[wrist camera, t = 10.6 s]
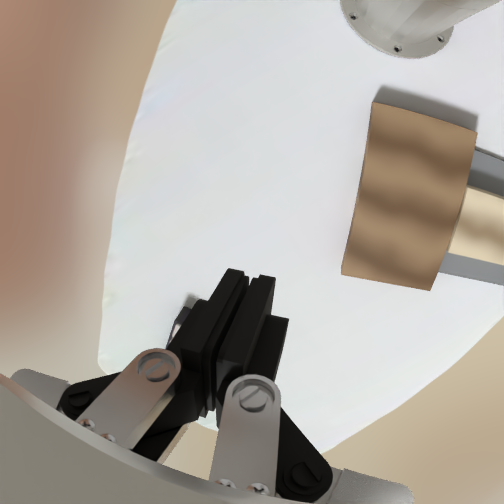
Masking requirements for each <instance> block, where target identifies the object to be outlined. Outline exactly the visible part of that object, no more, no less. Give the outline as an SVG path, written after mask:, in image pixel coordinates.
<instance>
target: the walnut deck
mask: <svg viewBox="0 0 504 504" xmlns="http://www.w3.org/2000/svg"><path fill="white" fill-rule="evenodd" d="M476 138H477V132H474V131H471V130H469V129H466V128H463V127H460V126H458V125H455V124H452V123H449V122H446V121H443V120H440V119H436V118H433V117H430V116H426V115H423V114H420V113H416V112H412V111H409V110H405V109H401V108H397V107H393V106H389V105H385V104H380V103H376V102H372V106H371V114H370V121H369V128H368V135H367V142H366V148H365V154H364V160H363V166H362V172H361V177H360V183H359V188H358V193H357V198H356V203H355V208H354V213H353V218H352V222H351V227H350V231H349V236H348V240H347V244H346V249H345V253H344V257H343V261H342V265H341V275H346V276H351V277H356V278H362V279H367V280H373V281H378V282H383V283H389V284H394V285H400V286H405V287H411V288H416V289H422V290H427V291H430V290H431V288H432V285H433V283H434V281H435V278H436V276H437V273H438V271H439V268H440V266H441V263H442V260H443V258H444V255H445V252H446V249H447V247H448V244H449V241H450V238H451V235H452V232H453V229H454V226H455V223H456V220H457V216H458V213H459V210H460V206H461V203H462V199H463V196H464V192H465V188H466V184H467V180H468V176H469V172H470V168H471V163H472V159H473V154H474V149H475V144H476Z"/></svg>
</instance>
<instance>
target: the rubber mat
mask: <svg viewBox="0 0 504 504" xmlns="http://www.w3.org/2000/svg"><path fill="white" fill-rule="evenodd" d="M467 185H470V186H473V187H477V188H480V189H483V190H486V191H489V192H492V193H495V194H497V195H500V196H503V197H504V161H502V160H500V159H497V158H495V157H492V156H490V155H487V154H485V153H482V152H479V151H477V150H474V154H473V159H472V163H471V168H470V172H469V176H468V180H467ZM438 272H440V273H445V274H450V275H455V276H460V277H465V278H469V279H474V280H479V281H484V282H488V283H493V284H498V285H503V286H504V265H500V264H496V263H491V262H487V261H483V260H479V259H474V258H470V257H466V256H461V255H457V254H452V253H448V251H447V250H446V252H445V255H444V258H443V260H442V263H441V266H440V268H439V271H438Z"/></svg>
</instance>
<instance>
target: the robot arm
mask: <svg viewBox="0 0 504 504" xmlns="http://www.w3.org/2000/svg"><path fill="white" fill-rule="evenodd" d="M500 1H501V0H340V4H341V9H342V12H343V14H344V16H345V19H346V20H347V22H348V23H349V25H350V27H351V28H352V29H353V30H354V31H355V32H356V34H357V35H358V36H359V37H361V38H362V39H363V40H364V41H365V42H366V43H368V44H369V45H371V46H372V47H374V48H376V49H377V50H379V51H382V52H384V53H386V54H388V55H392V56H395V57H399V58H407V59H416V58H423V57H427V56H430V55H432V54H435V53H436V52H438V51H439V50H441V49H442V48H443V47H444V46H445V45H446V44H447V43H448V41H449V39H450V37H451V35H452V32H453V27H454V25H455V24H457V23H459V22H461V21H463V20H464V19H466V18H468V17H470V16H472V15H474V14H476V13H478V12H480V11H482V10H484V9H486V8H488V7H490V6H492V5H494V4H496V3H498V2H500ZM352 16H353V17H355V18H356V19H355V20H353V19H351V17H352ZM438 38H439V39H440V41H439V40H438ZM394 48H397V49H398V52H396V51H395V50H394ZM275 281H276V278H275V277H270V276H265V275H259V277H258V278H254V277H253V279H252V281H251V283H250V285H249V276H244V271H240V270H235V269H230V268H228V269H227V271H226V272H225V274H224V276H223V277H222V279H221V281H220V282H219V284H218V286H217V287H216V289H215V291H214V292H213V294H212V295H211V297H210V299H209V300H208V301H206V300H202V299H199V300H198V301H197V302H196V303H195V305H194V306H193V308H192V309H191V311H190V313H189V314H188V316H187V317H186V319H185V320H184V322H183V323H182V325H181V326H180V328H179V330H178V331H177V333H176V334H175V336H174V337H173V339H172V340H171V342H170V344H169V345H168V347H167V348H166V350H165V349H160V348H154V349H148V350H146V351H143V352H141V353H140V354H139V355H138V356H136V357H135V358H134V359H133V361H132V362H131V363H130V364H129V365H128V366H127V367H126V368H125V369H124V370H123V371H122V372H118V373H115V374H111V375H107V376H103V377H99V378H95V379H91V380H87V381H82V382H79V383H75V384H73V385H70V384H69V382H68V381H65V380H62V379H58V378H55V377H51V376H49V375H45V374H42V373H39V372H36V371H33V370H30V369H21V370H18V371H17V372H15V373H14V374H13V375H12V377H11V378H8V377H6V376H4V375H2V374H0V504H414V497H413V494H412V491H411V490H410V489H409V488H408V487H407V486H405V485H402V484H400V483H396V482H391V481H387V480H383V479H379V478H375V477H372V476H368V475H364V474H361V473H357V472H354V471H351V470H348V469H345V468H344V469H343V470H340V469H336V468H333V467H330V466H329V464H328V462H327V461H326V460H325V459H324V458H323V457H322V455H321V454H320V453H319V452H318V451H317V450H316V449H315V447H314V446H313V445H312V444H311V443H310V442H309V440H308V439H307V438H306V437H305V436H304V434H303V433H302V432H301V431H300V430H299V428H298V427H297V426H296V425H295V424H294V422H293V421H292V420H291V419H290V418H289V416H288V415H287V414H286V413H285V411H284V410H283V409H282V408H281V394H280V390H279V388H278V387H277V385H276V384H275V383H274V381H275V378H276V374H277V370H278V366H279V362H280V358H281V354H282V350H283V346H284V342H285V337H286V332H287V327H288V322H289V319H288V318H283V317H278V316H273V315H271V310H272V303H273V296H274V288H275ZM215 408H216V420H217V427H218V429H219V431H218V436H217V441H216V446H215V451H214V456H213V462H212V467H211V471H210V476H209V481H207V480H204V479H201V478H197V477H195V476H192V475H189V474H186V473H183V472H180V471H178V470H175V469H172V468H170V467H167V466H164V465H162V464H163V463H164V461H165V460H166V459H167V457H168V456H169V454H170V453H171V451H172V450H173V449H174V447H175V446H176V444H177V443H178V442H179V440H180V439H181V437H182V436H183V434H184V433H185V432H186V430H187V428H188V427H189V424H190V422H193V421H196V420H198V418H199V416H201V417H204V418H206V416H207V413H208V411H209V410H210V411H214V410H215Z"/></svg>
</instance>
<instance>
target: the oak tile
mask: <svg viewBox="0 0 504 504" xmlns="http://www.w3.org/2000/svg"><path fill="white" fill-rule="evenodd" d="M446 250H447V251H448V253H452V254H457V255H461V256H466V257H470V258H474V259H479V260H483V261H487V262H491V263H496V264H500V265H504V197H503V196H500V195H497V194H495V193H492V192H489V191H486V190H483V189H480V188H477V187H473V186H470V185H467V184H466V188H465V192H464V196H463V199H462V203H461V206H460V210H459V213H458V216H457V220H456V223H455V226H454V229H453V232H452V235H451V238H450V241H449V244H448V247H447V249H446Z"/></svg>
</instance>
